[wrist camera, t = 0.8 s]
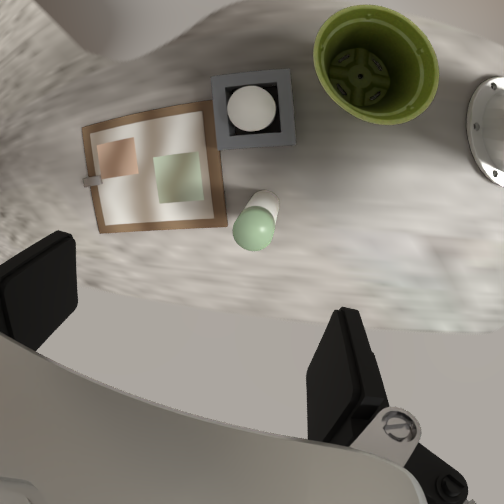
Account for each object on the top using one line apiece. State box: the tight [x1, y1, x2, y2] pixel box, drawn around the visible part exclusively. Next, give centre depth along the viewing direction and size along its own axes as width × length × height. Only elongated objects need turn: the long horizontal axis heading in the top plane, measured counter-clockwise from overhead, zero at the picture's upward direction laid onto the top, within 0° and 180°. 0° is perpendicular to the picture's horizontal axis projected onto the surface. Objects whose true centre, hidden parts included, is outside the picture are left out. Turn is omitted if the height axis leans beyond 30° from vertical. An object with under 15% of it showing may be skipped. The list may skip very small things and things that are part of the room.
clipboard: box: [82, 100, 228, 234], centre depth 32 cm, size 16×13×1 cm
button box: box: [211, 69, 296, 151], centre depth 27 cm, size 7×7×3 cm
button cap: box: [227, 86, 277, 131], centre depth 26 cm, size 4×4×2 cm
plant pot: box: [313, 5, 439, 125], centre depth 22 cm, size 9×9×9 cm
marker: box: [233, 190, 279, 251], centre depth 28 cm, size 3×3×8 cm
